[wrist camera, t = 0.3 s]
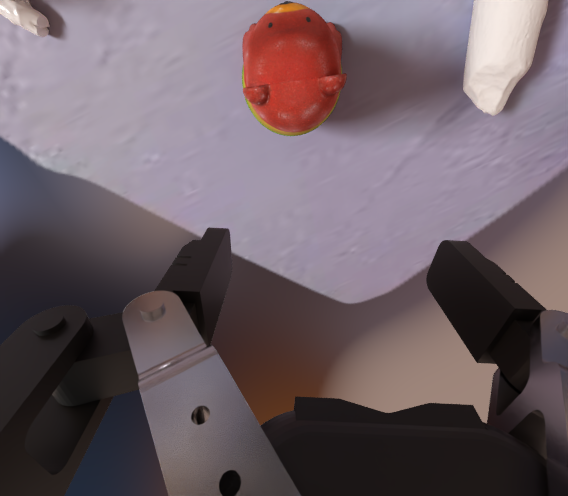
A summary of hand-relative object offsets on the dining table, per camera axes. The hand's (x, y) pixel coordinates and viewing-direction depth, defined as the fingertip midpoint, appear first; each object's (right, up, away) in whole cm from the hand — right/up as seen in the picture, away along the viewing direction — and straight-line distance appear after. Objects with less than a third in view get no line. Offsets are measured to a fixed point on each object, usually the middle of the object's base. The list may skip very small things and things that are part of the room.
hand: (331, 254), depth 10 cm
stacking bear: (-1, +20, +21) cm, 29 cm away
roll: (+20, +22, +19) cm, 35 cm away
